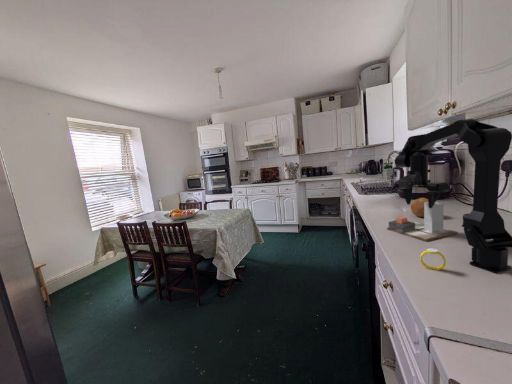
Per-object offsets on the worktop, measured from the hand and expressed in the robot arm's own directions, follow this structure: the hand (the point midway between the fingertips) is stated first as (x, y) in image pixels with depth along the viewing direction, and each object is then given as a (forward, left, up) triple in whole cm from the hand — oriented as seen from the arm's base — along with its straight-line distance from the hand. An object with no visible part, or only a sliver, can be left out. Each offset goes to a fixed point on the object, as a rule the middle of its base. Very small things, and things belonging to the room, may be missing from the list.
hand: (419, 206), depth 90 cm
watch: (-20, +20, -13) cm, 31 cm away
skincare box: (0, -8, -12) cm, 15 cm away
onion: (+19, -26, -13) cm, 35 cm away
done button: (+9, -1, -10) cm, 13 cm away
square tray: (+4, -6, -13) cm, 15 cm away
